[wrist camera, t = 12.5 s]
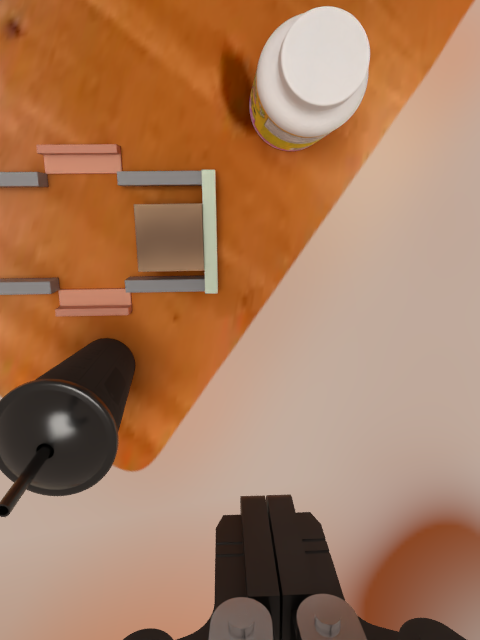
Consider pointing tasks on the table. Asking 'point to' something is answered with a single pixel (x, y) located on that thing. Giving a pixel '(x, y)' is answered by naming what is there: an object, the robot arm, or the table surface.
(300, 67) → the supplement bottle
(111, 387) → the drinking cup
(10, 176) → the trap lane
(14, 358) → the table surface
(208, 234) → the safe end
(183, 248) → the walnut block
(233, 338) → the table surface
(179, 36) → the table surface
